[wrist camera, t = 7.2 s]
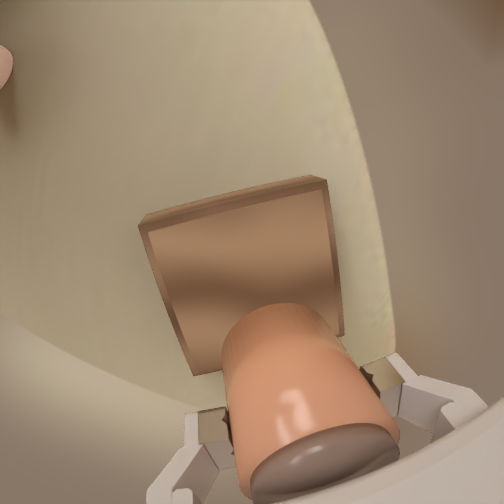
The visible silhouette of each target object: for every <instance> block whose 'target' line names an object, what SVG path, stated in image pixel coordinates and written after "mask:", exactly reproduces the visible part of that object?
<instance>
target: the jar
mask: <svg viewBox="0 0 504 504" xmlns="http://www.w3.org/2000/svg"><path fill="white" fill-rule="evenodd" d="M221 360H222V368H223V376H224V384H225V392H226V400H227V407H228V414H229V421H230V429H231V435H232V442H233V449H234V455H235V462H236V468H237V474H238V481H239V487H240V489H241V491H242V493H243V494H244V495H245V496H246V497H248V498H249V499H251V500H253V503H254V504H272V503H277V502H281V501H285V500H289V499H293V498H297V497H300V496H304V495H307V494H311V493H314V492H317V491H320V490H324V489H327V488H330V487H333V486H336V485H338V484H341V483H344V482H347V481H350V480H352V479H355V478H357V477H360V476H363V475H365V474H368V473H370V472H372V471H375V470H377V469H379V468H382V467H384V466H386V465H389V464H391V463H393V462H395V461H397V460H398V459H399V455H400V452H399V447H398V443H399V439H400V431H399V428H398V426H397V424H396V423H395V421H394V420H393V418H392V417H391V415H390V414H389V412H388V411H387V409H386V408H385V406H384V405H383V403H382V402H381V400H380V399H379V397H378V396H377V395H376V393H375V392H374V390H373V389H372V387H371V386H370V384H369V383H368V381H367V380H366V378H365V377H364V375H363V374H362V373H361V371H360V370H359V368H358V367H357V365H356V364H355V362H354V361H353V360H352V358H351V357H350V355H349V354H348V352H347V351H346V349H345V348H344V347H343V345H342V344H341V342H340V341H339V339H338V338H337V336H336V335H335V334H334V332H333V331H332V329H331V328H330V326H329V325H328V324H327V322H326V321H325V320H324V318H323V317H322V316H321V315H320V314H319V313H318V312H316V311H314V310H313V309H311V308H309V307H307V306H304V305H300V304H294V303H277V304H272V305H267V306H264V307H261V308H259V309H256V310H254V311H252V312H251V313H249V314H247V315H246V316H244V317H243V318H242V319H240V320H239V321H238V322H237V323H236V324H235V325H234V326H233V327H232V329H231V330H230V331H229V333H228V334H227V336H226V338H225V340H224V343H223V346H222V352H221Z"/></svg>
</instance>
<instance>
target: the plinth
mask: <svg viewBox="0 0 504 504" xmlns="http://www.w3.org/2000/svg"><path fill="white" fill-rule="evenodd" d="M138 227H139V231H140V234H141V237H142V240H143V243H144V246H145V250H146V253H147V256H148V259H149V262H150V265H151V268H152V271H153V273H154V276H155V279H156V282H157V285H158V288H159V290H160V293H161V296H162V299H163V301H164V304H165V307H166V310H167V312H168V315H169V317H170V320H171V323H172V325H173V328H174V330H175V333H176V335H177V338H178V340H179V343H180V345H181V348H182V350H183V352H184V355H185V357H186V360H187V362H188V364H189V367H190V369H191V371H192V374H193V376H197V375H202V374H207V373H211V372H216V371H220V370H223V368H222V360H221V352H222V346H223V343H224V340H225V338H226V336H227V334H228V333H229V331H230V330H231V329H232V327H233V326H234V325H235V324H236V323H237V322H238V321H239V320H240V319H242V318H243V317H244V316H246V315H247V314H249V313H251V312H252V311H254V310H256V309H259V308H261V307H264V306H267V305H272V304H277V303H294V304H300V305H304V306H307V307H309V308H311V309H313V310H314V311H316V312H318V313H319V314H320V315H321V316H322V317H323V318H324V320H325V321H326V322H327V324H328V325H329V326H330V328H331V329H332V331H333V332H334V334H335V335H336V336H337V338H338V337H341V336H344V321H343V308H342V297H341V286H340V276H339V267H338V258H337V249H336V241H335V233H334V226H333V219H332V212H331V205H330V198H329V192H328V185H327V180H326V179H322V178H319V177H315V176H312V175H307V176H302V177H298V178H293V179H288V180H284V181H279V182H274V183H270V184H265V185H261V186H257V187H252V188H248V189H244V190H240V191H235V192H231V193H227V194H223V195H219V196H215V197H211V198H207V199H203V200H199V201H196V202H192V203H188V204H184V205H180V206H177V207H173V208H169V209H166V210H162V211H158V212H155V213H151V214H148V215H146V216H145V218H144V219H143V220H142V221H141V223H140V224H139V225H138Z"/></svg>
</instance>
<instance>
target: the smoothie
mask: <svg viewBox="0 0 504 504" xmlns="http://www.w3.org/2000/svg"><path fill="white" fill-rule="evenodd" d="M12 67H13V57H12V54H11V52H10V51H9V50H7V49H6V48H4V47H3V46H2V45H0V89H1V88H2V87H3V86H4V85H5V83H6V82H7V80H8V78H9V76H10V74H11V71H12Z"/></svg>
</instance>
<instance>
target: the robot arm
mask: <svg viewBox="0 0 504 504" xmlns="http://www.w3.org/2000/svg"><path fill="white" fill-rule="evenodd" d="M359 370H360V371H361V373H362V374H363V375H364V377H365V378H366V380H367V381H368V383H369V384H370V386H371V387H372V389H373V390H374V392H375V393H376V395H377V396H378V397H379V399H380V400H381V402H382V403H383V405H384V406H385V408H386V409H387V411H388V412H389V414H390V415H391V417H392V418H393V417H395V416H398V417H400V418H402V419H405V420H406V421H408V422H411V423H413V424H415V425H417V426H419V427H421V428H423V429H425V430H427V431H429V432H431V433H433V436H432V439H431V442H430V444H429V445H427V446H425V447H423V448H422V449H419V450H417V451H416V452H414V453H412V454H410V455H408V456H406V457H403V458H401V459H400V460H397V461H395V462H393V463H391V464H389V465H386V466H384V467H382V468H379V469H377V470H375V471H372V472H370V473H368V474H365V475H363V476H360V477H357V478H355V479H352V480H350V481H347V482H344V483H341V484H338V485H336V486H333V487H330V488H327V489H324V490H320V491H317V492H314V493H311V494H307V495H304V496H300V497H297V498H293V499H289V500H285V501H281V502H277V503H272V504H504V396H503V397H502V398H500V399H499V400H498V401H496V402H495V403H494V404H492V405H491V406H490V407H488V406H487V405H486V404H485V403H484V401H483V400H482V399H481V398H480V397H479V396H478V395H477V394H476V393H475V392H474V391H473V390H472V389H470V388H467V387H462V386H459V385H455V384H452V383H448V382H444V381H440V380H437V379H434V378H430V377H427V376H423V375H420V376H417V375H416V374H415V372H413V370H412V369H411V368H410V367H409V366H408V365H407V364H406V362H405V361H404V360H403V359H402V358H401V357H400V356H399V355H398V354H397V353H393V354H391V355H388V356H386V357H384V358H381V359H378V360H376V361H374V362H371V363H369V364H366V365H363V366H361V367H360V369H359ZM233 467H236V462H235V455H234V449H233V442H232V435H231V429H230V421H229V414H228V410H227V408H226V407H220V408H214V409H209V410H203V411H199V412H192V413H186V414H185V416H184V447H181V448H179V450H178V451H177V452H176V454H175V455H174V456H173V458H172V459H171V460H170V462H169V463H168V464H167V466H166V467H165V468H164V469H163V471H162V472H161V473H160V474H159V476H158V477H157V478H156V479H155V481H154V482H153V483H152V484H151V486H150V487H149V488H148V489H147V497H146V504H203V502H204V500H205V499H206V497H207V495H208V493H209V491H210V489H211V487H212V485H213V483H214V481H215V480H216V478H217V476H218V474H219V470H224V469H229V468H233Z"/></svg>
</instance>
